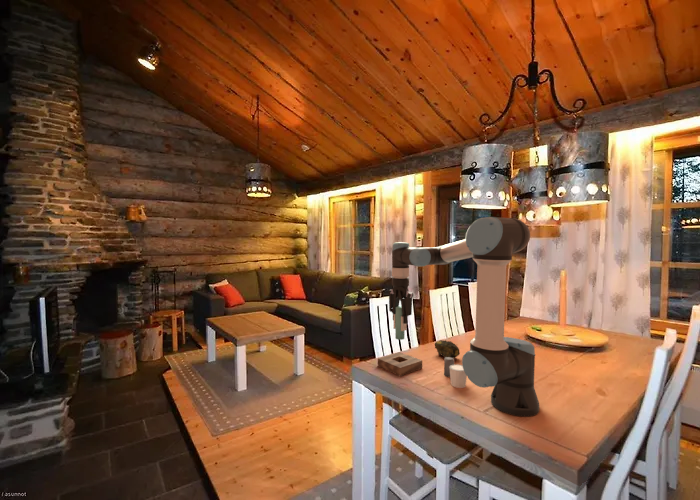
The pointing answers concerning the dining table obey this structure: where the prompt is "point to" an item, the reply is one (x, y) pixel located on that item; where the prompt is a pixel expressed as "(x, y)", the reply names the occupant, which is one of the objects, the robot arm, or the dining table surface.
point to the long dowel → (399, 324)
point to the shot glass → (457, 376)
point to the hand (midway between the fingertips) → (399, 329)
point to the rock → (447, 349)
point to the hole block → (399, 363)
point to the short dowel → (448, 365)
